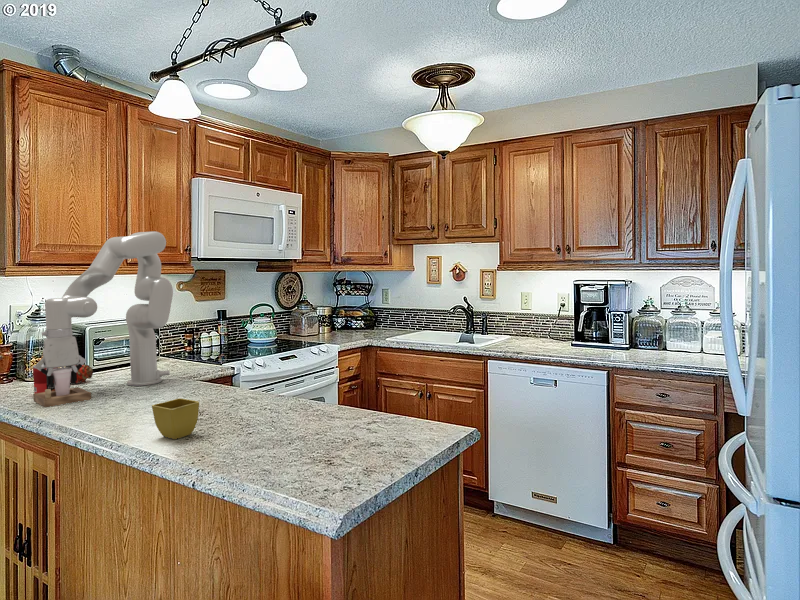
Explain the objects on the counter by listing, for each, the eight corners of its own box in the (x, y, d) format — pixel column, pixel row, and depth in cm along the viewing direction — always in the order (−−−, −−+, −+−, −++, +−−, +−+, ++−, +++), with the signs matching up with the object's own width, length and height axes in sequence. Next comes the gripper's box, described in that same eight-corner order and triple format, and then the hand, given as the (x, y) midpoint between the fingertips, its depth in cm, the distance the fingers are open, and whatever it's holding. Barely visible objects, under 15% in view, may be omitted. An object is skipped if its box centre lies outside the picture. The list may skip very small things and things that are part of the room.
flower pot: (172, 443, 140) (171, 408, 139) (152, 438, 145) (150, 404, 144) (201, 434, 147) (200, 401, 147) (181, 429, 152) (179, 398, 152)
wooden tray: (78, 393, 200) (77, 378, 199) (91, 399, 190) (90, 384, 190) (33, 400, 189) (32, 385, 189) (44, 407, 180) (43, 391, 179)
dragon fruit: (97, 384, 223) (63, 393, 215) (90, 370, 227) (58, 379, 220) (96, 370, 218) (62, 378, 211) (90, 356, 223) (56, 364, 215)
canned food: (50, 396, 195) (49, 366, 195) (29, 397, 195) (27, 366, 195) (64, 392, 203) (63, 362, 202) (43, 392, 203) (41, 363, 202)
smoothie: (61, 399, 186) (59, 358, 185) (47, 397, 188) (45, 357, 187) (77, 394, 192) (76, 355, 191) (64, 393, 194) (62, 354, 193)
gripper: (33, 337, 180) (36, 391, 181) (90, 332, 192) (93, 382, 193) (27, 335, 185) (30, 387, 186) (83, 330, 197) (86, 379, 198)
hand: (62, 384), depth 189 cm, fingers closed on smoothie, 6 cm apart
